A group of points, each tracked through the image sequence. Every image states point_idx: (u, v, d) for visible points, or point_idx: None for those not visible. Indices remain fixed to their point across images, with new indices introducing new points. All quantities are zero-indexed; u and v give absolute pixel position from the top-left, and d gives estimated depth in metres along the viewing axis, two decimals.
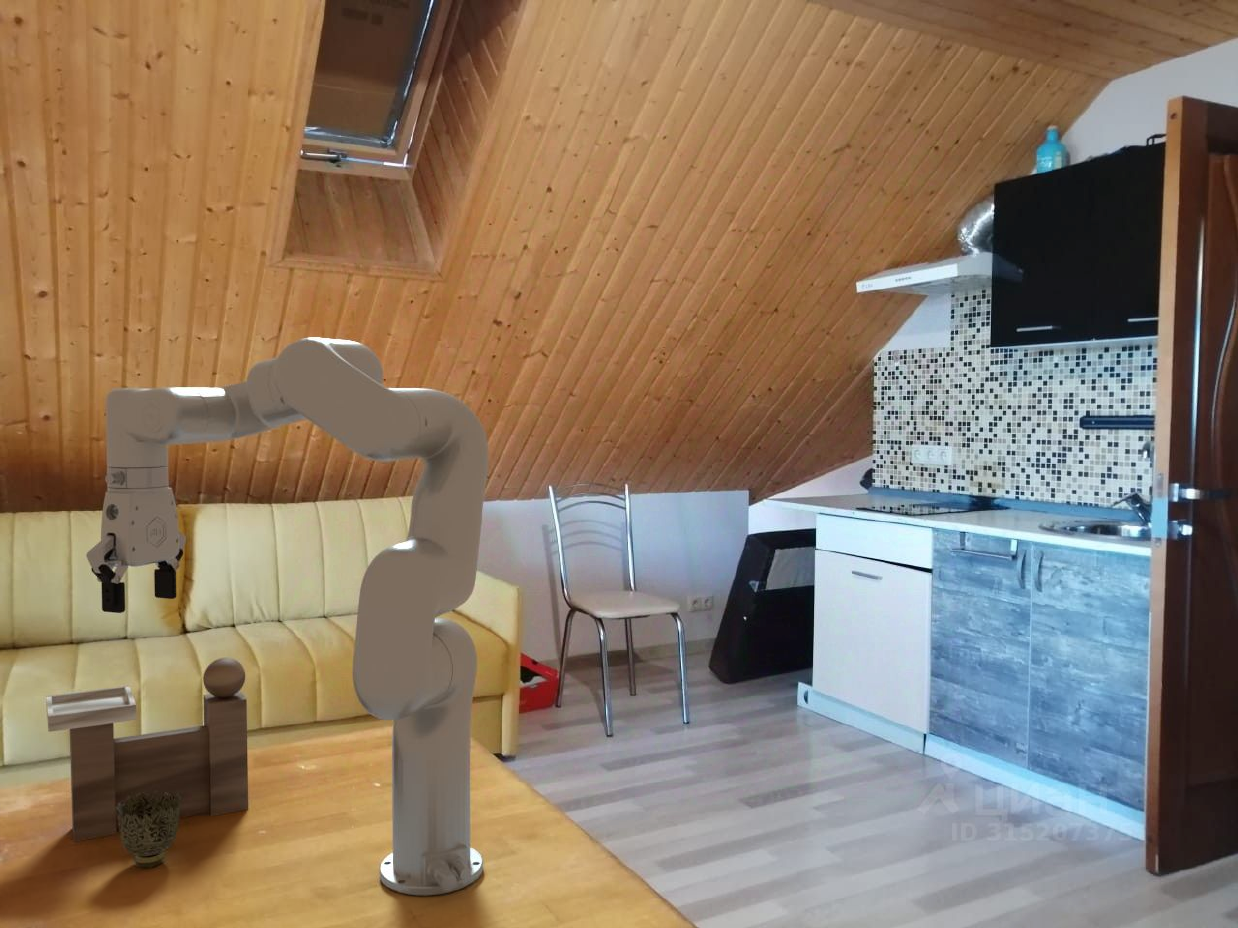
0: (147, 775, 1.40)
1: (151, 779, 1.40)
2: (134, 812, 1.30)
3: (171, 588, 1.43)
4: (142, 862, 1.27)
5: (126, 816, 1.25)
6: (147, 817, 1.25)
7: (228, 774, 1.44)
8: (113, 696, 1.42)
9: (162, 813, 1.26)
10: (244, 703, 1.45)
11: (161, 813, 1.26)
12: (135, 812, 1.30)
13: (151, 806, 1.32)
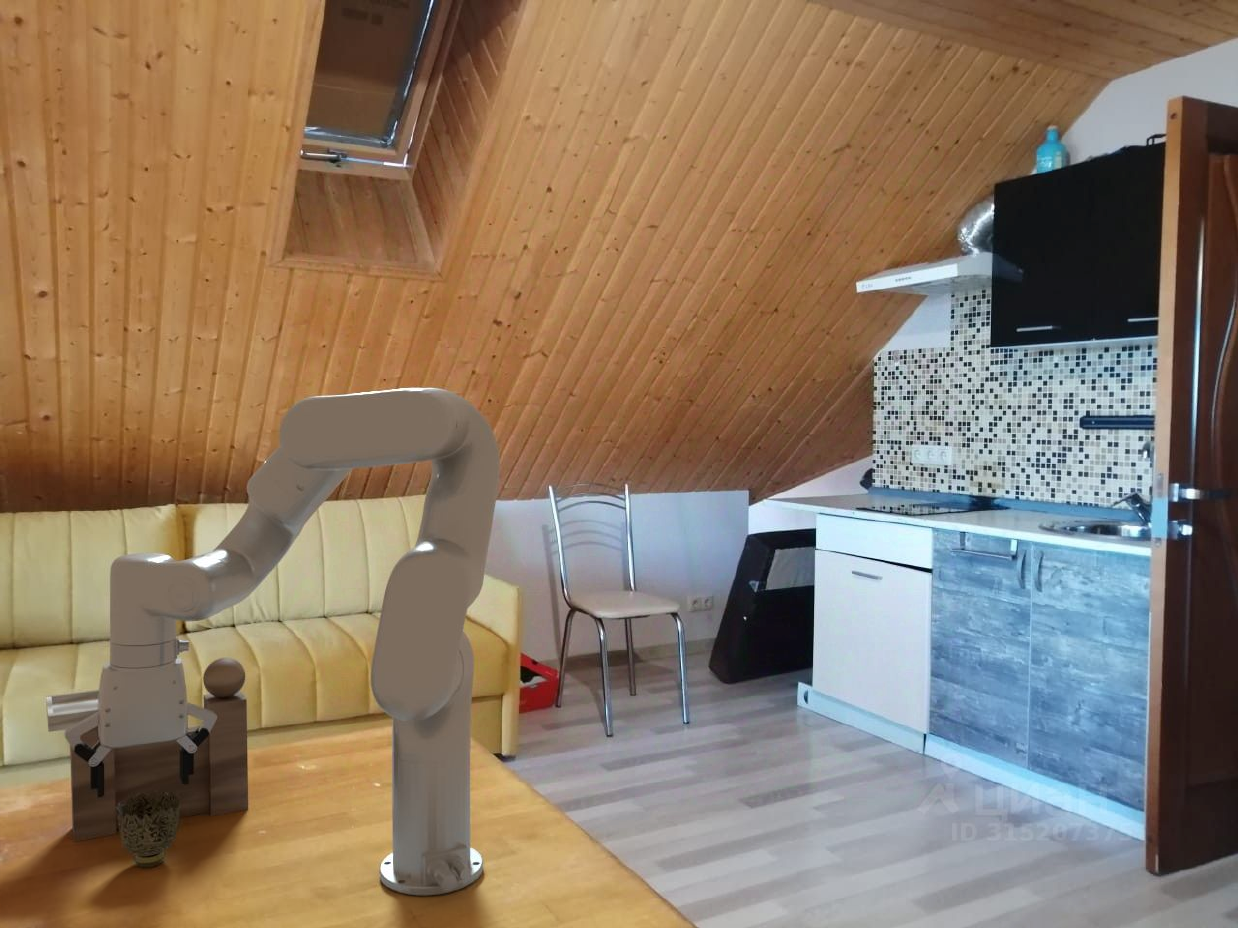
0: (147, 775, 1.40)
1: (151, 779, 1.40)
2: (134, 812, 1.30)
3: None
4: (142, 862, 1.27)
5: (126, 816, 1.25)
6: (147, 817, 1.25)
7: (228, 774, 1.44)
8: None
9: (162, 813, 1.26)
10: (244, 703, 1.45)
11: (161, 813, 1.26)
12: (135, 812, 1.30)
13: (151, 806, 1.32)
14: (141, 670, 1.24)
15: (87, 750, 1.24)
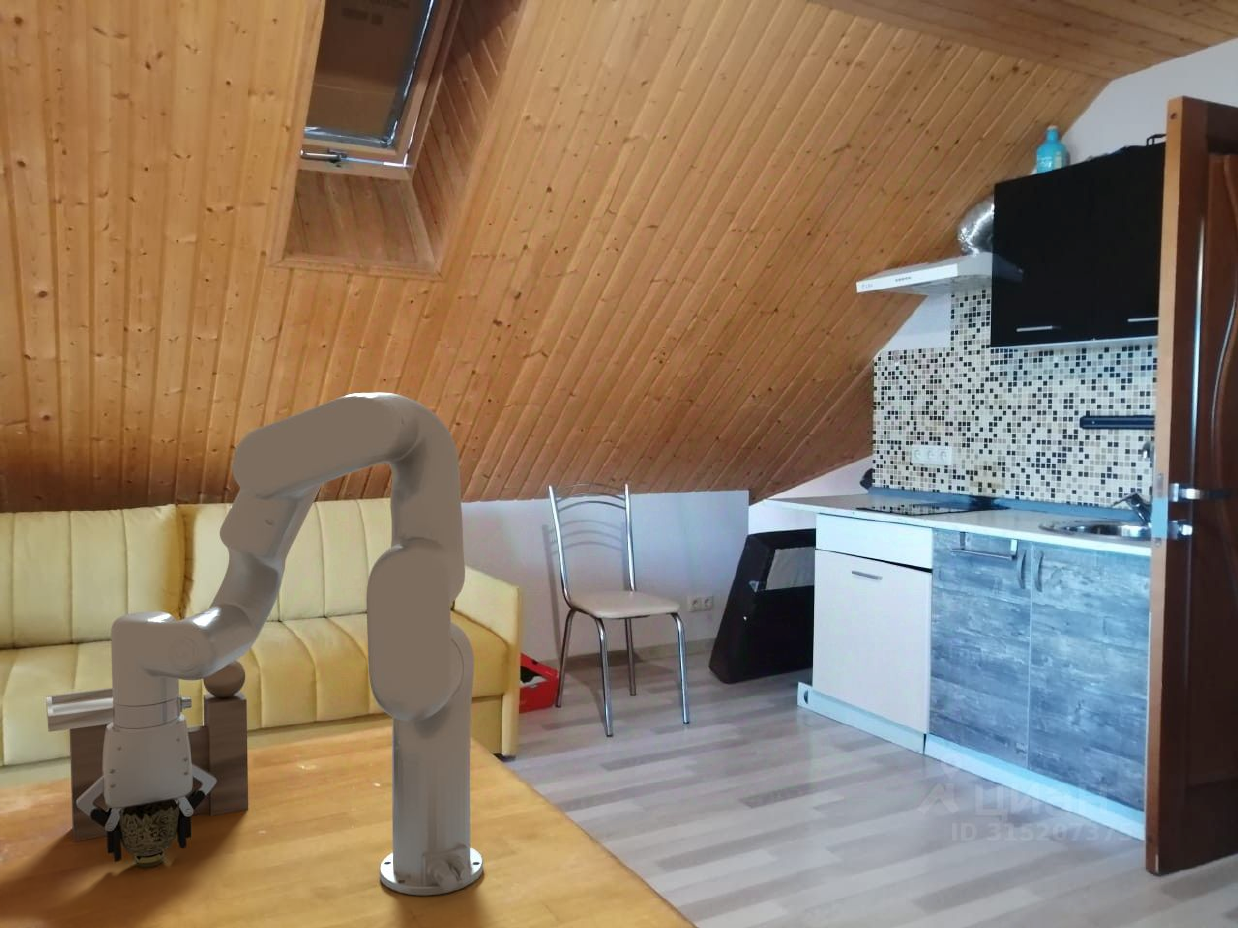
0: None
1: None
2: (134, 812, 1.30)
3: None
4: (142, 862, 1.27)
5: (126, 816, 1.25)
6: (147, 817, 1.25)
7: (228, 774, 1.44)
8: None
9: (162, 813, 1.26)
10: (244, 703, 1.45)
11: (161, 813, 1.26)
12: (135, 812, 1.30)
13: (151, 806, 1.32)
14: (144, 730, 1.24)
15: (103, 815, 1.25)
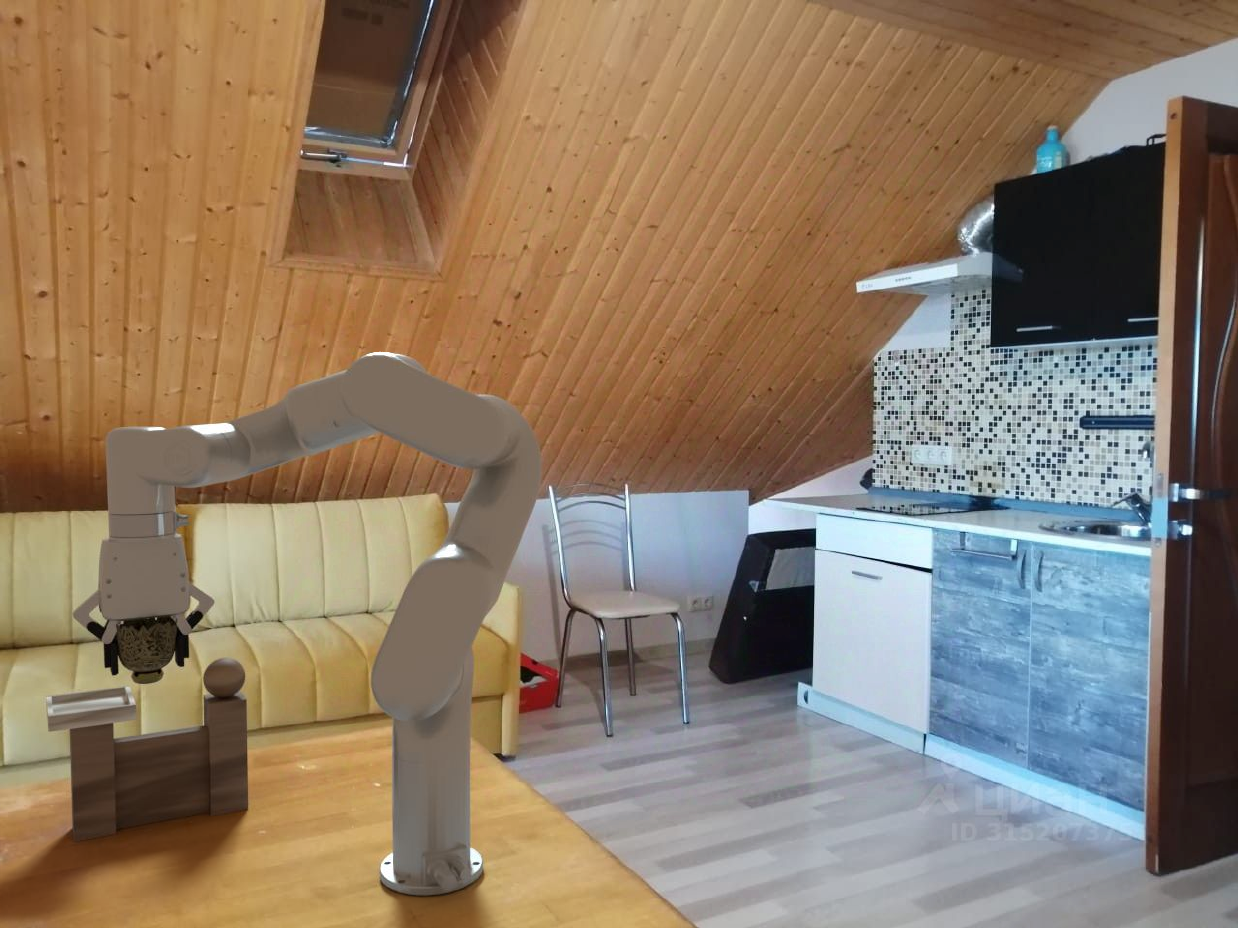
0: (147, 775, 1.40)
1: (151, 779, 1.40)
2: None
3: None
4: (140, 678, 1.26)
5: (123, 628, 1.23)
6: (144, 629, 1.23)
7: (228, 774, 1.44)
8: (113, 696, 1.42)
9: (159, 627, 1.24)
10: (244, 703, 1.45)
11: (158, 627, 1.24)
12: None
13: (148, 627, 1.30)
14: (140, 540, 1.23)
15: (100, 628, 1.24)
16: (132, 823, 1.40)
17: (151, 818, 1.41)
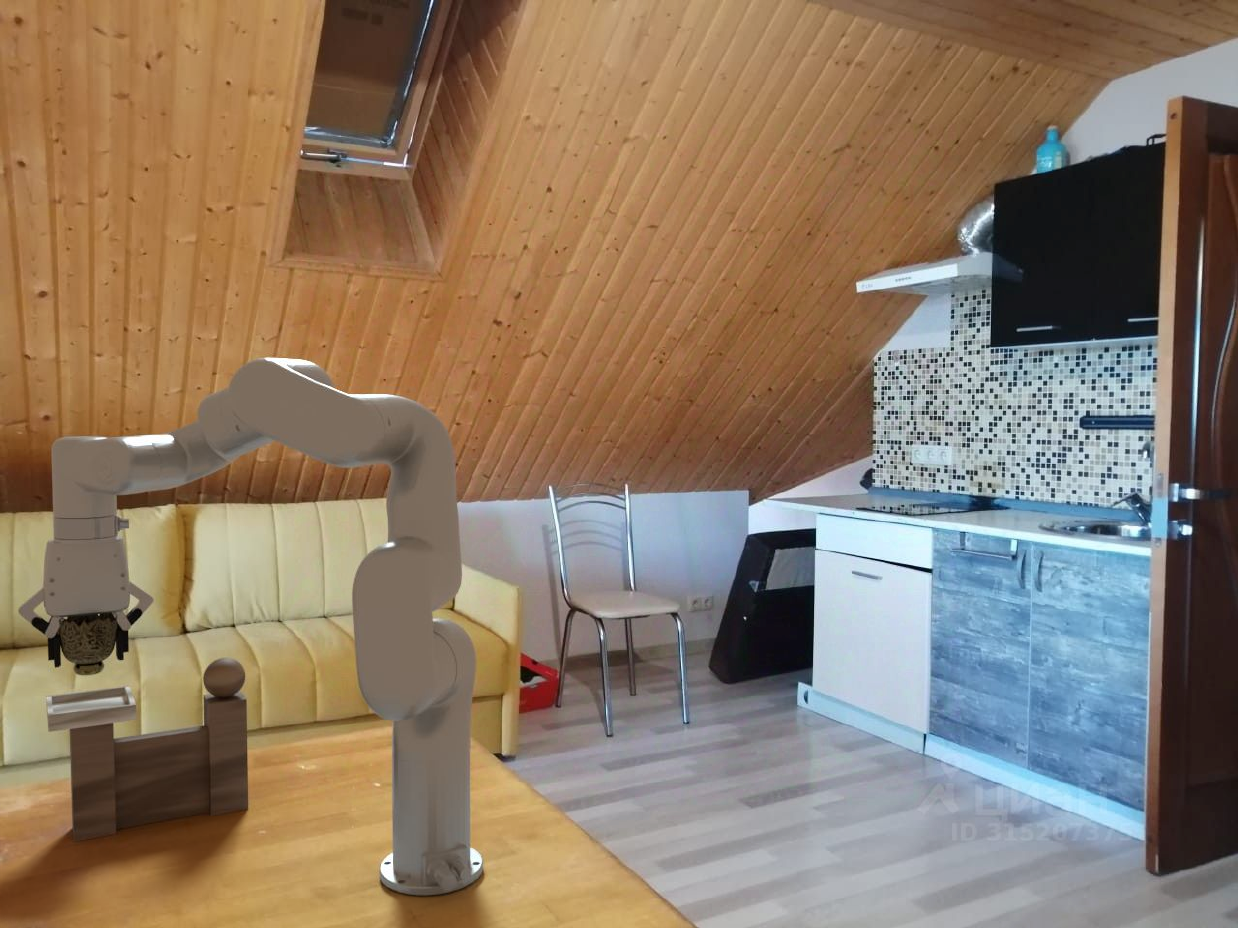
0: (147, 775, 1.40)
1: (151, 779, 1.40)
2: None
3: None
4: (81, 670, 1.35)
5: (65, 623, 1.33)
6: (85, 624, 1.33)
7: (228, 774, 1.44)
8: (113, 696, 1.42)
9: (99, 622, 1.34)
10: (244, 703, 1.45)
11: (98, 622, 1.34)
12: None
13: None
14: (82, 542, 1.32)
15: (44, 623, 1.33)
16: (132, 823, 1.40)
17: (151, 818, 1.41)
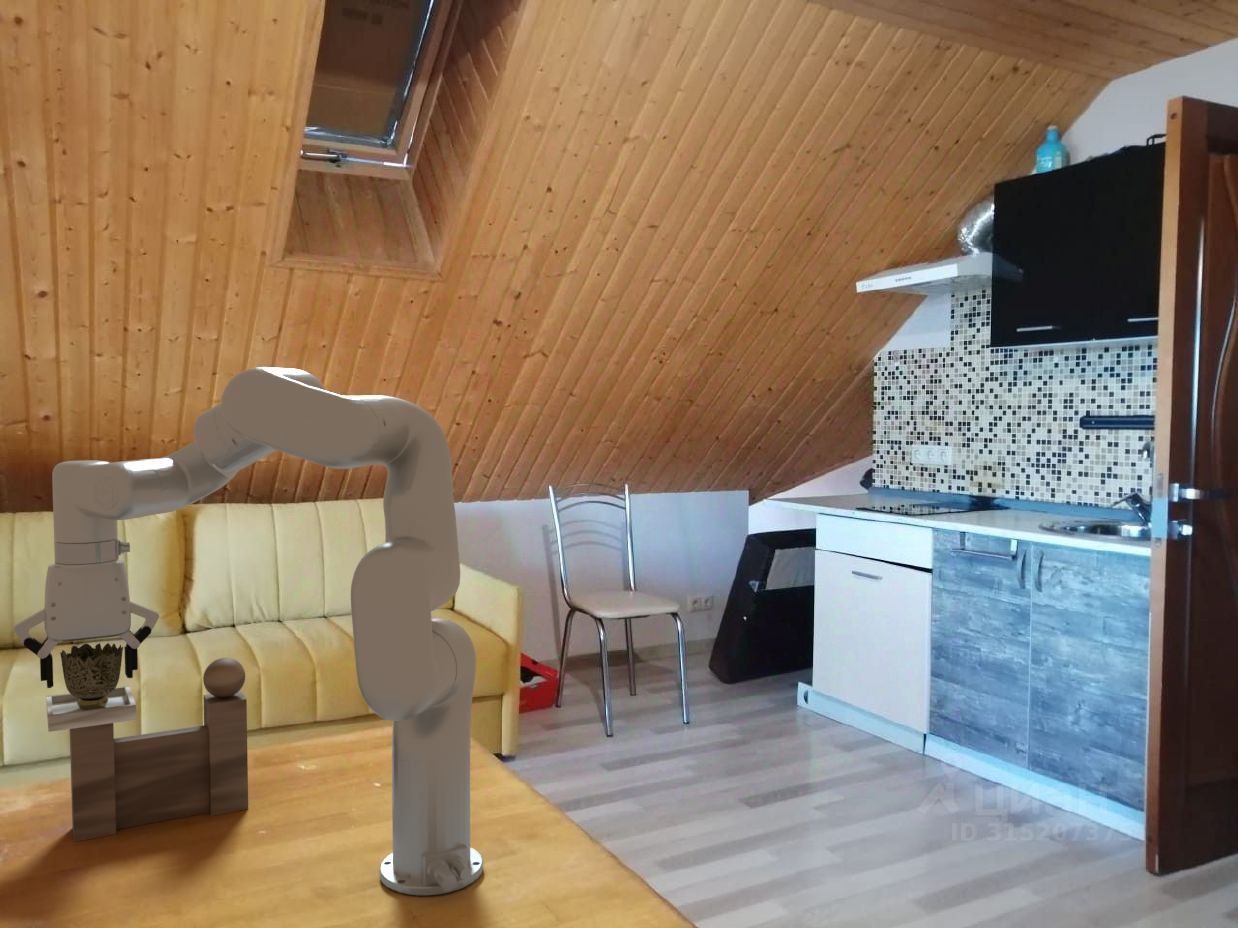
0: (147, 775, 1.40)
1: (151, 779, 1.40)
2: None
3: None
4: (85, 704, 1.35)
5: (70, 658, 1.33)
6: (90, 659, 1.33)
7: (228, 774, 1.44)
8: (113, 696, 1.42)
9: (104, 657, 1.34)
10: (244, 703, 1.45)
11: (103, 657, 1.34)
12: None
13: (95, 657, 1.40)
14: (83, 566, 1.32)
15: (36, 643, 1.33)
16: (132, 823, 1.40)
17: (151, 818, 1.41)
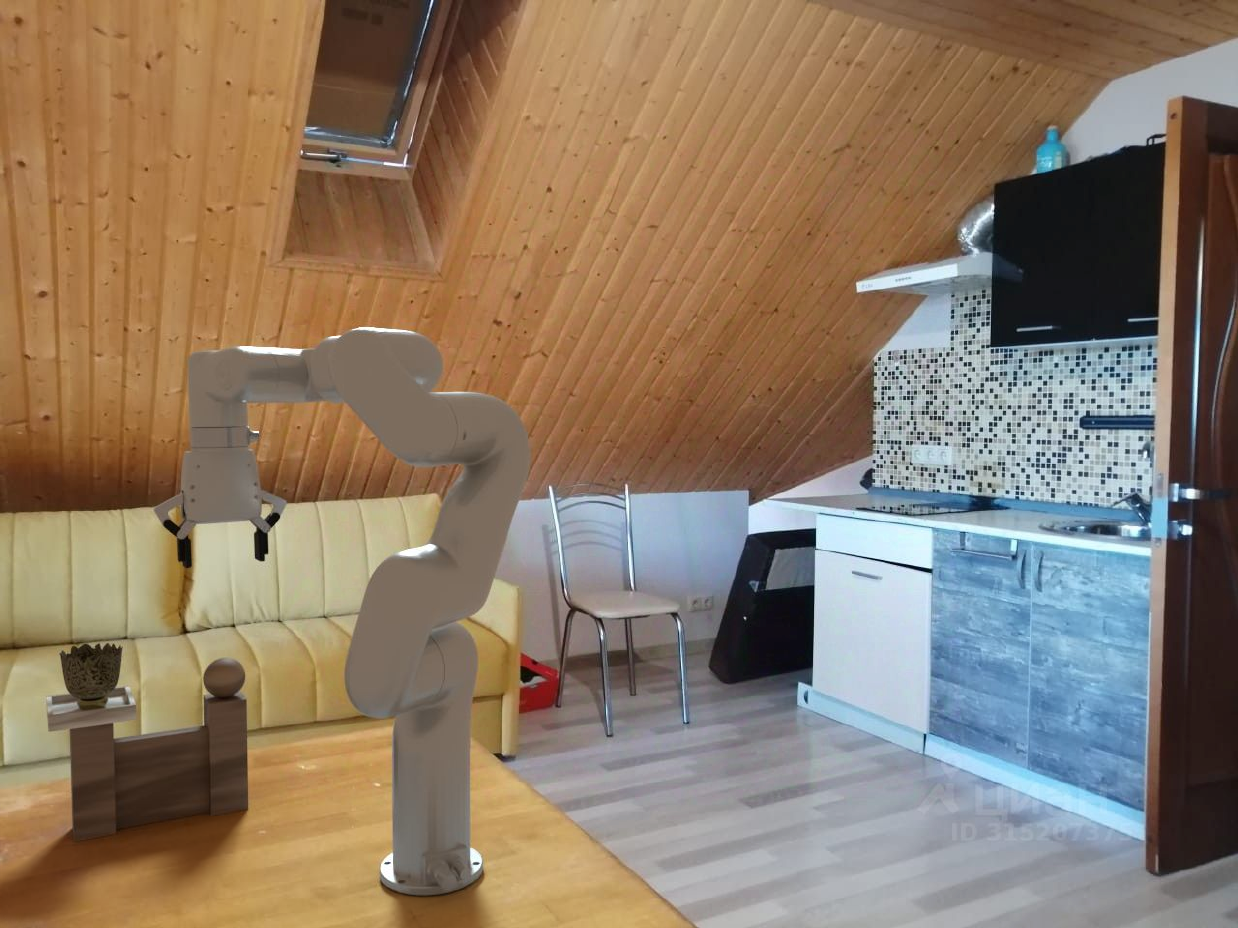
0: (147, 775, 1.40)
1: (151, 779, 1.40)
2: None
3: None
4: (85, 705, 1.35)
5: (69, 659, 1.33)
6: (89, 660, 1.33)
7: (228, 774, 1.44)
8: (113, 696, 1.42)
9: (103, 658, 1.34)
10: (244, 703, 1.45)
11: (102, 658, 1.34)
12: None
13: (95, 657, 1.40)
14: (221, 450, 1.38)
15: (175, 525, 1.38)
16: (132, 823, 1.40)
17: (151, 818, 1.41)
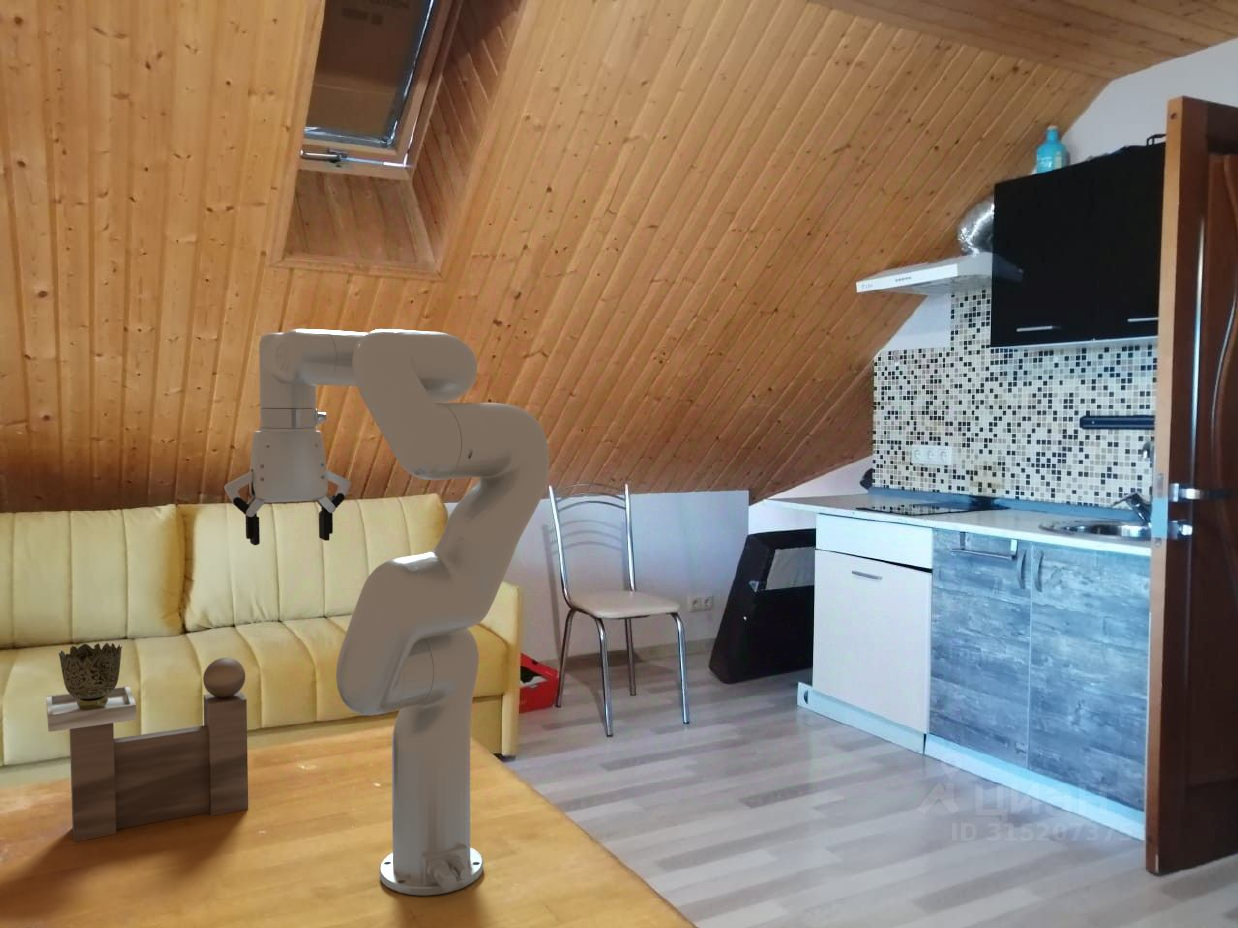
0: (147, 775, 1.40)
1: (151, 779, 1.40)
2: None
3: None
4: (84, 705, 1.35)
5: (68, 659, 1.33)
6: (88, 660, 1.33)
7: (228, 774, 1.44)
8: (113, 696, 1.42)
9: (102, 657, 1.34)
10: (244, 703, 1.45)
11: (101, 657, 1.34)
12: None
13: (94, 657, 1.40)
14: (290, 430, 1.41)
15: (244, 503, 1.41)
16: (132, 823, 1.40)
17: (151, 818, 1.41)
